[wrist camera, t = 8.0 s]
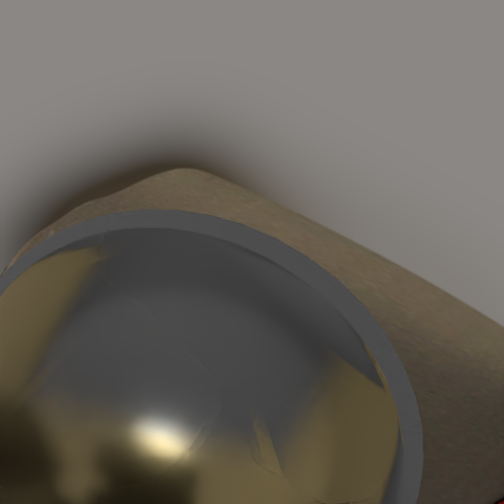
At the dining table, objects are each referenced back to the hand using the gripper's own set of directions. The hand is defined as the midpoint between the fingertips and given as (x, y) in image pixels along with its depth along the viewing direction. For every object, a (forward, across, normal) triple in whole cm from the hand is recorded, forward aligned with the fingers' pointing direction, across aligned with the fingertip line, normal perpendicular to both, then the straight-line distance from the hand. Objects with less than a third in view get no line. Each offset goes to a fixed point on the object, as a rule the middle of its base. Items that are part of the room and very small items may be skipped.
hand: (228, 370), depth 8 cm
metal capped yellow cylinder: (+4, 0, +6) cm, 7 cm away
